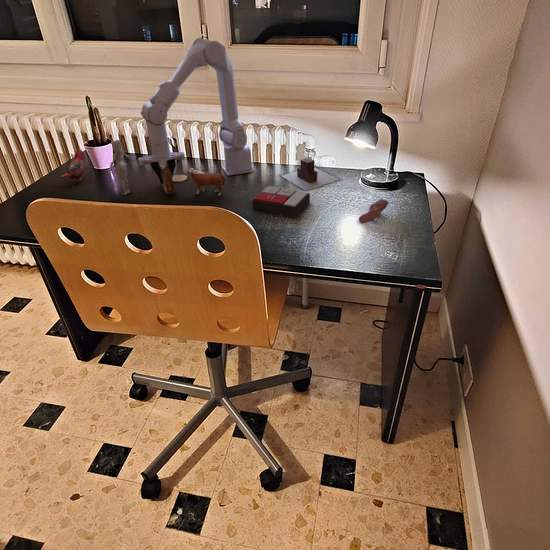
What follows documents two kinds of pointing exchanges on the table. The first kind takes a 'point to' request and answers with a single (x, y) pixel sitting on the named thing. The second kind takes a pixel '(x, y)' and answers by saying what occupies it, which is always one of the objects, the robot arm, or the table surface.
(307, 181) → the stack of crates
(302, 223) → the table surface
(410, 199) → the table surface
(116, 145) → the human figurine
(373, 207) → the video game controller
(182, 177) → the cork coaster
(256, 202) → the red and grey box
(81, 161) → the decorative bird figurine
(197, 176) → the bull figurine
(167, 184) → the tin
